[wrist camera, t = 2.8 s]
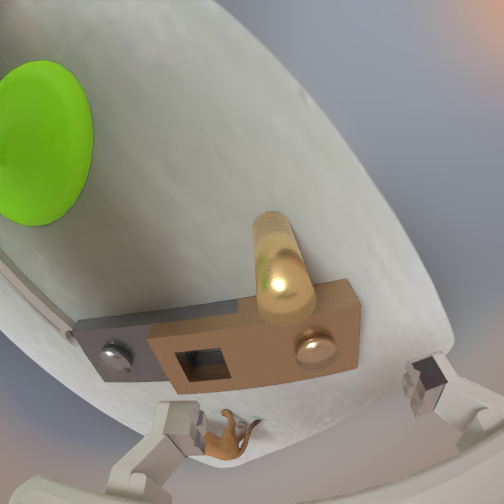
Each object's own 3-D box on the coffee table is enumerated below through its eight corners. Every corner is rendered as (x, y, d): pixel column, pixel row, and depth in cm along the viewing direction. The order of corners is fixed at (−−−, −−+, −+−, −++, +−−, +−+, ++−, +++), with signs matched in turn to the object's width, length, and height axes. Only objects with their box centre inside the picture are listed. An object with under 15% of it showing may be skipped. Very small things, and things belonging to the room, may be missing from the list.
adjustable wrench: (92, 331, 29) (86, 342, 28) (68, 350, 31) (63, 359, 29) (-37, 175, 20) (-47, 179, 18) (-49, 210, 22) (-58, 215, 20)
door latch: (78, 320, 28) (59, 350, 23) (346, 278, 26) (364, 311, 22) (109, 370, 31) (97, 400, 27) (347, 341, 30) (360, 375, 25)
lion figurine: (156, 418, 36) (146, 471, 28) (149, 398, 34) (135, 455, 26) (259, 425, 37) (261, 480, 29) (262, 406, 34) (265, 466, 26)
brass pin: (249, 215, 23) (252, 284, 14) (287, 208, 23) (314, 272, 14) (256, 249, 25) (263, 330, 16) (292, 242, 24) (318, 320, 15)
